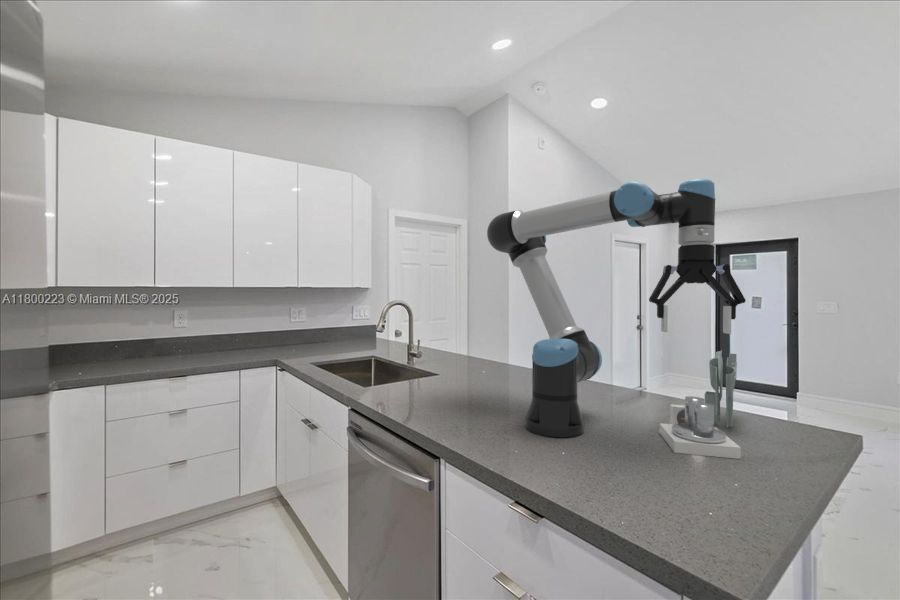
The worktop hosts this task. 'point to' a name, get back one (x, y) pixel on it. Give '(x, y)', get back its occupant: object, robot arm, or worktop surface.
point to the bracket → (716, 381)
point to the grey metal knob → (703, 420)
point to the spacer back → (690, 410)
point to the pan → (688, 434)
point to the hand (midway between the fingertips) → (695, 332)
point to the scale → (693, 447)
